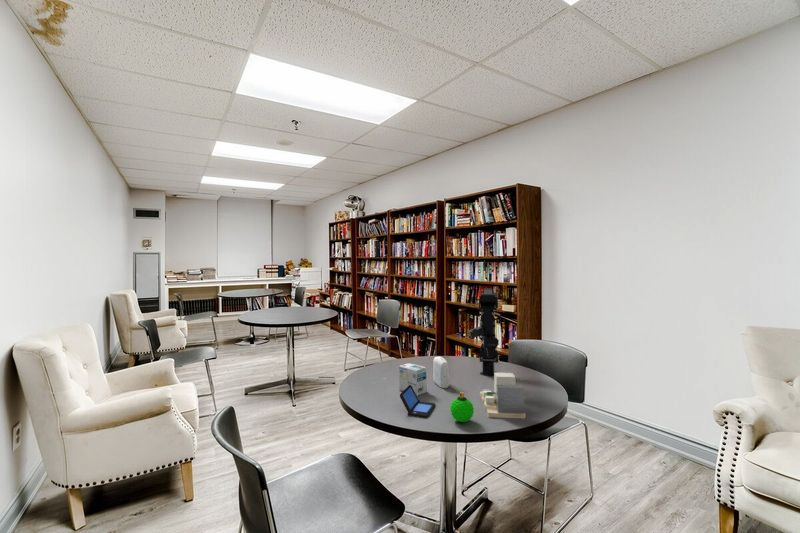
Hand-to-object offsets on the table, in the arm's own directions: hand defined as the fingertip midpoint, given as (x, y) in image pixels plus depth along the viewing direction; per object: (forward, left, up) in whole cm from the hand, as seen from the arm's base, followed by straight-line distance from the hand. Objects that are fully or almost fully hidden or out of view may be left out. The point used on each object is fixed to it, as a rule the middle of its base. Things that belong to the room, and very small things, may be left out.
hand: (487, 356), depth 160 cm
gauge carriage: (+20, +13, -11) cm, 26 cm away
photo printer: (+11, -18, -13) cm, 25 cm away
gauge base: (+19, +13, -13) cm, 26 cm away
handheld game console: (+40, -12, -14) cm, 44 cm away
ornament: (+40, +6, -13) cm, 43 cm away
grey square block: (+26, +18, -11) cm, 34 cm away
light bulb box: (+25, -24, -13) cm, 37 cm away
